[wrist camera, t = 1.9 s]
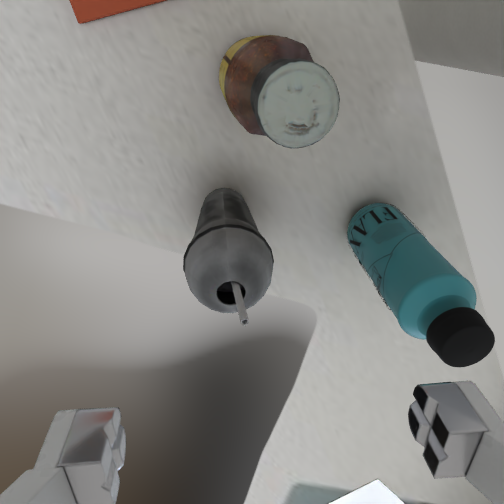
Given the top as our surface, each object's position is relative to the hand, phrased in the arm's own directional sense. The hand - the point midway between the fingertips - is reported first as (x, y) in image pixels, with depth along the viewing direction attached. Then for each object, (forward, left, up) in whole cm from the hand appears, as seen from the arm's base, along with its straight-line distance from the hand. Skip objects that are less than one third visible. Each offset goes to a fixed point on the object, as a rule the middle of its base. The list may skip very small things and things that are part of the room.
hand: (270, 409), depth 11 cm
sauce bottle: (-4, -5, -32) cm, 33 cm away
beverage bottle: (-13, +13, -32) cm, 37 cm away
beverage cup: (+2, +7, -32) cm, 33 cm away
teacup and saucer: (-5, +75, -32) cm, 82 cm away
